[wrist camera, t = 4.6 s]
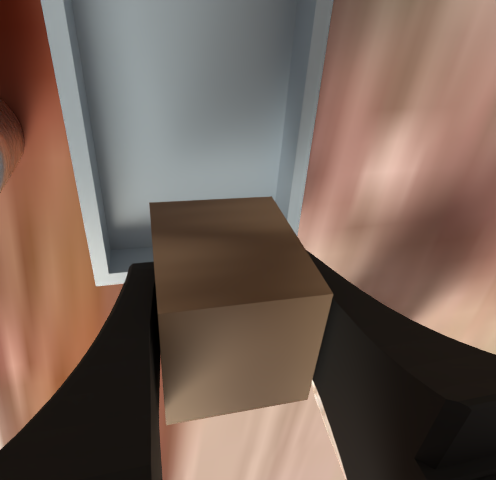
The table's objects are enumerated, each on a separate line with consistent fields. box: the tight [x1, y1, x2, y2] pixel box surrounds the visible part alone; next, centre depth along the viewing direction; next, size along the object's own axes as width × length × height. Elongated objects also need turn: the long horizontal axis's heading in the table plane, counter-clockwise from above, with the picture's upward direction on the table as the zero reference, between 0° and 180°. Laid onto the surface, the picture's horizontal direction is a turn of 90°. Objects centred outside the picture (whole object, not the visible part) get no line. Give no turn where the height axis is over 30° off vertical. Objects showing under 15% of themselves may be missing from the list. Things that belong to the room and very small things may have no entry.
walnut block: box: [149, 196, 333, 425], centre depth 12 cm, size 4×4×5 cm
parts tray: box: [41, 0, 333, 286], centre depth 15 cm, size 9×14×2 cm, turn 176°
